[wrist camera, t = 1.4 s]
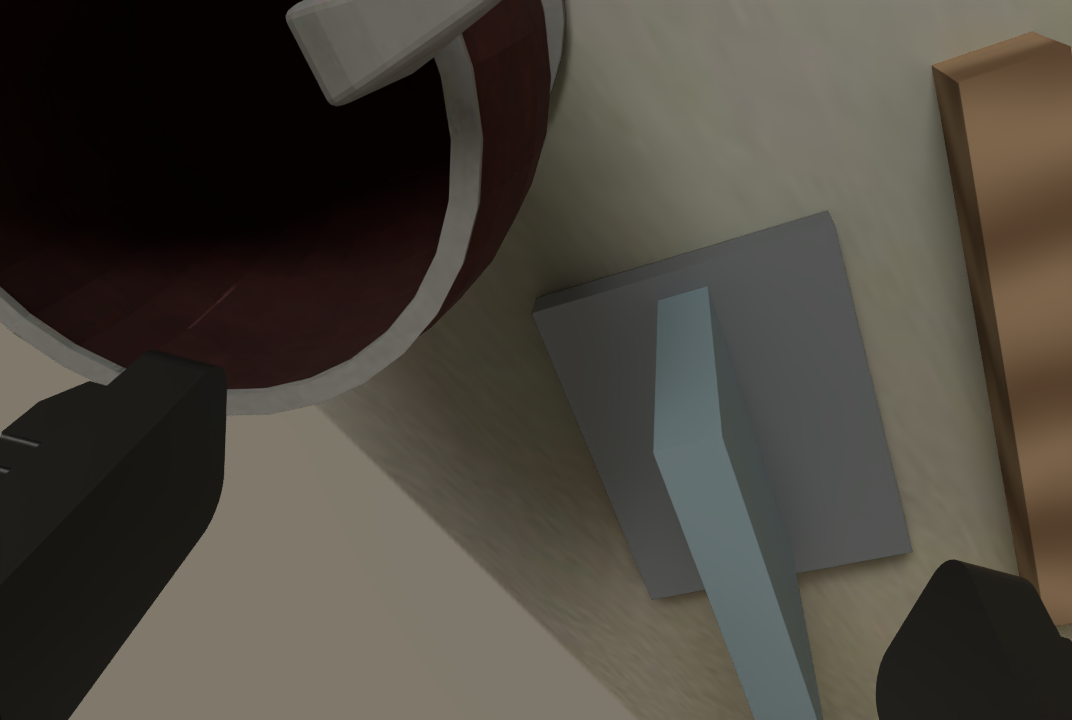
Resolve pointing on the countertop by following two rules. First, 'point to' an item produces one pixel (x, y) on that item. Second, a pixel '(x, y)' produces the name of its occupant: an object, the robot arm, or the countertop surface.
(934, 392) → the countertop surface
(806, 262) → the stand
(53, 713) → the robot arm
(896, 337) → the countertop surface
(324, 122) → the mate gourd
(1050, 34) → the countertop surface
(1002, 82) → the light wood bar
